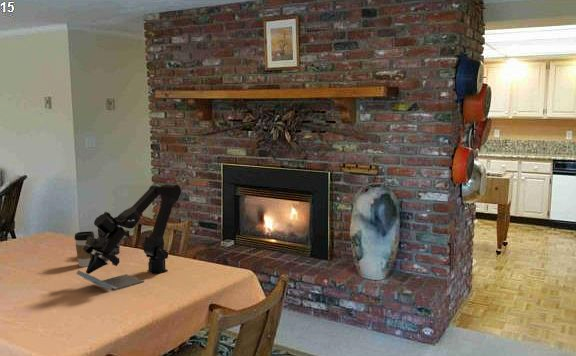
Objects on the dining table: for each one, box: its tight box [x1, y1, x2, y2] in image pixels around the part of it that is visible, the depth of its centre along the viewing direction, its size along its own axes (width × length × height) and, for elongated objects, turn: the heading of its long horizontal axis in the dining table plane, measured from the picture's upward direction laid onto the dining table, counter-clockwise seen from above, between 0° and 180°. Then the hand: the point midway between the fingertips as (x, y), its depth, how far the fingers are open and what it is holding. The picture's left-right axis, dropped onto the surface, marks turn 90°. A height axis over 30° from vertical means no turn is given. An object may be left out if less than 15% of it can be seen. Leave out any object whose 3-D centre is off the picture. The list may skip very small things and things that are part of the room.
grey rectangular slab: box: [75, 269, 113, 291], centre depth 198 cm, size 2×12×10 cm
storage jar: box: [97, 225, 121, 256], centre depth 248 cm, size 10×10×15 cm
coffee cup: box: [74, 231, 95, 268], centre depth 229 cm, size 8×8×15 cm
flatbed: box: [101, 273, 145, 291], centre depth 207 cm, size 13×13×1 cm
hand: (87, 273), depth 195 cm, fingers closed
